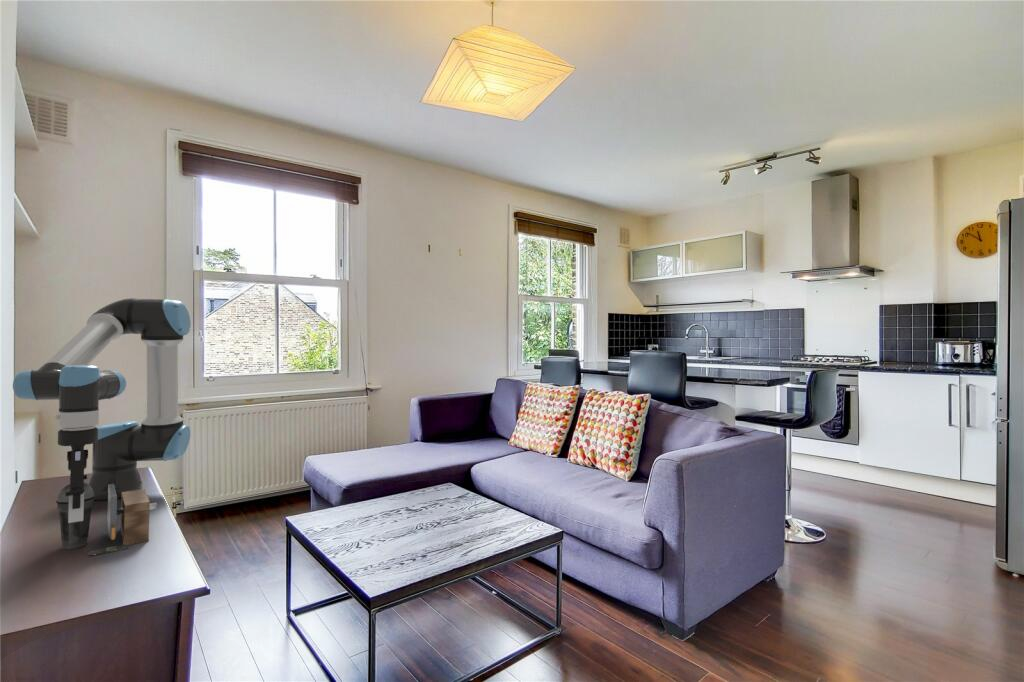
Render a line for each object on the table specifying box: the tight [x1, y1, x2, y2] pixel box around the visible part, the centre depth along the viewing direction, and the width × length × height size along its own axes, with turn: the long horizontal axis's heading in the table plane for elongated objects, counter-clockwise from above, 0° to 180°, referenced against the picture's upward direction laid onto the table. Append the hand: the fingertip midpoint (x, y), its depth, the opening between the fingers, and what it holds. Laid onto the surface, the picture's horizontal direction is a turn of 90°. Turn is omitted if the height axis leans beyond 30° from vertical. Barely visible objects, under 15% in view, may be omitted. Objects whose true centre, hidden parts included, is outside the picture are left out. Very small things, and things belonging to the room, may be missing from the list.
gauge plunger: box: [106, 484, 158, 541], centre depth 131 cm, size 10×16×10 cm, turn 41°
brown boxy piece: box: [88, 488, 150, 557], centre depth 128 cm, size 12×17×10 cm
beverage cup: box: [55, 470, 95, 550], centre depth 124 cm, size 7×7×20 cm
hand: (76, 513), depth 124 cm, fingers open, 13 cm apart
